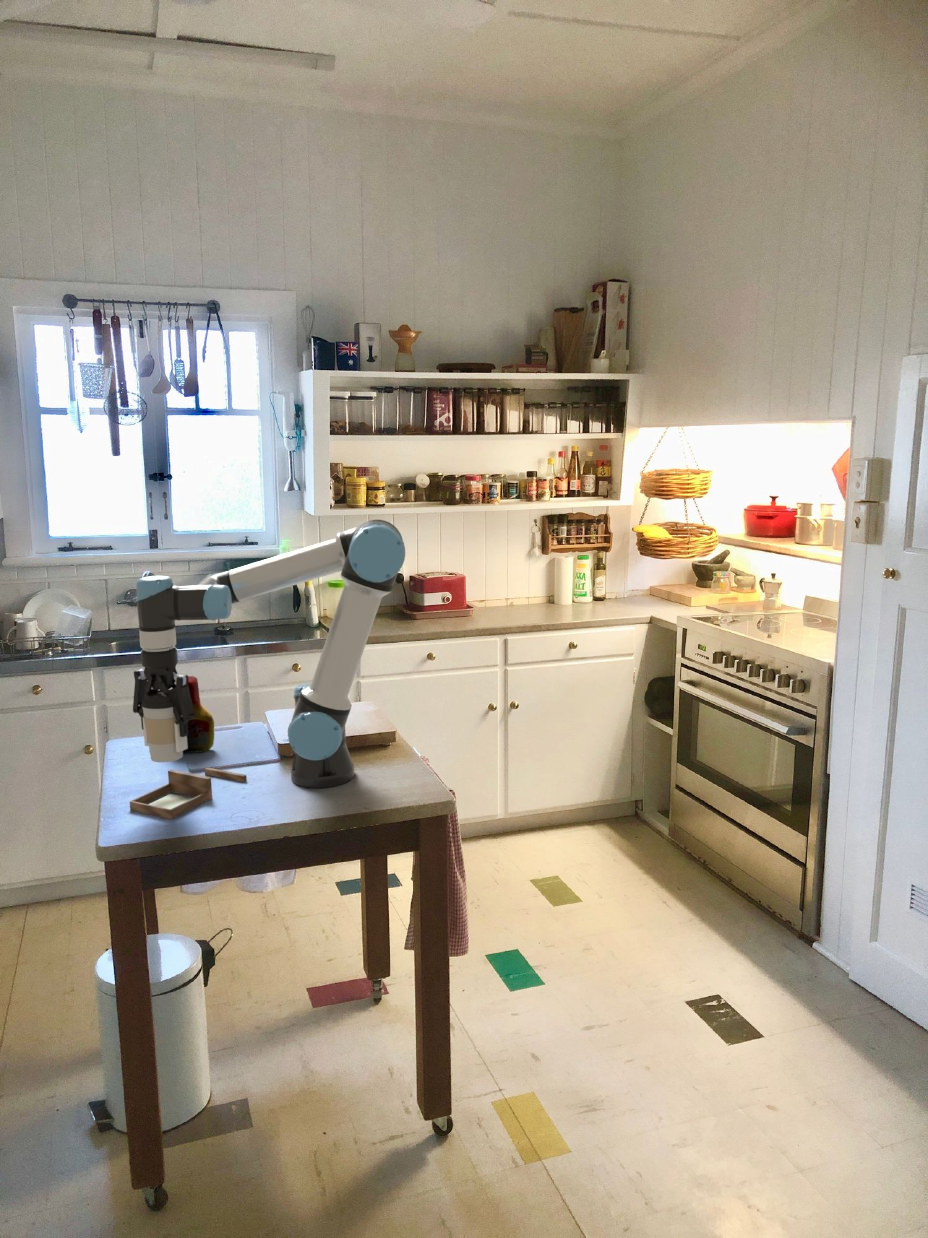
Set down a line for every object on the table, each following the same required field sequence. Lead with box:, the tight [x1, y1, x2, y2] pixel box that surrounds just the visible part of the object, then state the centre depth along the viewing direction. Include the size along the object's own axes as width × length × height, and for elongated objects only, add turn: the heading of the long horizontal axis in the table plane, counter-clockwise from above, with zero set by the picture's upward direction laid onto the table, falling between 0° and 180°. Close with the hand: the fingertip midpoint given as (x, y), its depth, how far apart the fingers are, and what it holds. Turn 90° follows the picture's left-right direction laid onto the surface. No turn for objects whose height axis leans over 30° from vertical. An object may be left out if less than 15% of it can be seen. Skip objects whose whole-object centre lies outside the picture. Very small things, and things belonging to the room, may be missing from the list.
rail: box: [204, 767, 247, 783], centre depth 229 cm, size 12×1×2 cm, turn 63°
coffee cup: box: [141, 690, 184, 763], centre depth 209 cm, size 9×9×15 cm
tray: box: [129, 769, 213, 820], centre depth 213 cm, size 12×13×5 cm
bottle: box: [183, 675, 215, 753], centre depth 246 cm, size 12×6×20 cm, turn 89°
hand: (166, 747), depth 210 cm, fingers closed on coffee cup, 9 cm apart
